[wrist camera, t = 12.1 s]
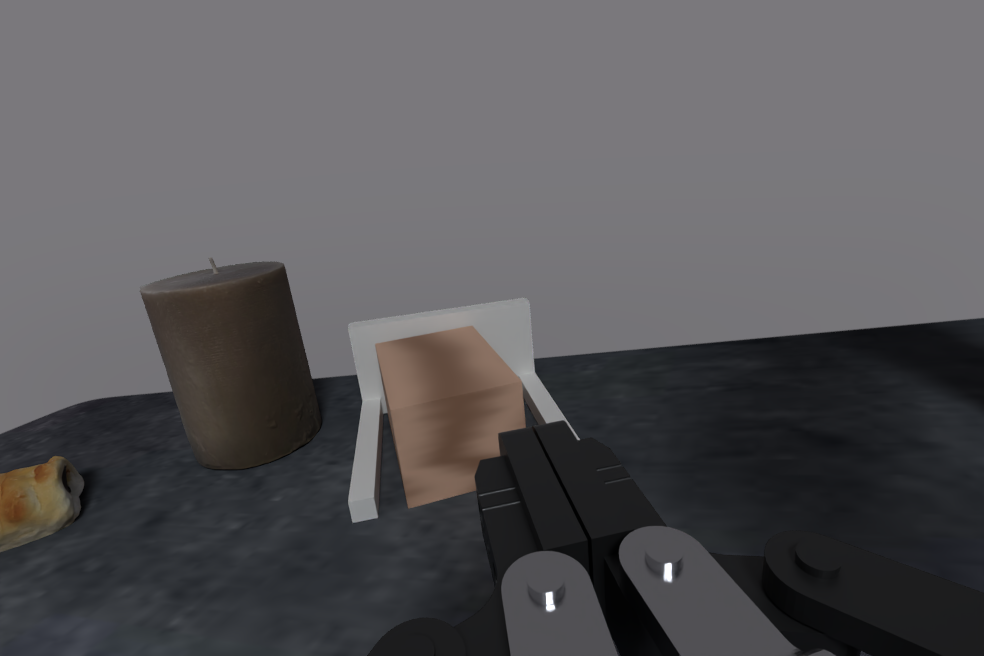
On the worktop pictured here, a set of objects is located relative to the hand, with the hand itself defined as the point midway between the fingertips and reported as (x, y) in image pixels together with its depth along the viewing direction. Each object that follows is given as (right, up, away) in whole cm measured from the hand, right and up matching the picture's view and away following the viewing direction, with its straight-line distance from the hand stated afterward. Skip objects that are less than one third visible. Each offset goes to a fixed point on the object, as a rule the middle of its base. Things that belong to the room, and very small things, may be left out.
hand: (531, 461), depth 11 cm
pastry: (-32, -10, +22) cm, 40 cm away
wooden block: (-4, -6, +26) cm, 27 cm away
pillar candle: (-20, -6, +30) cm, 36 cm away
